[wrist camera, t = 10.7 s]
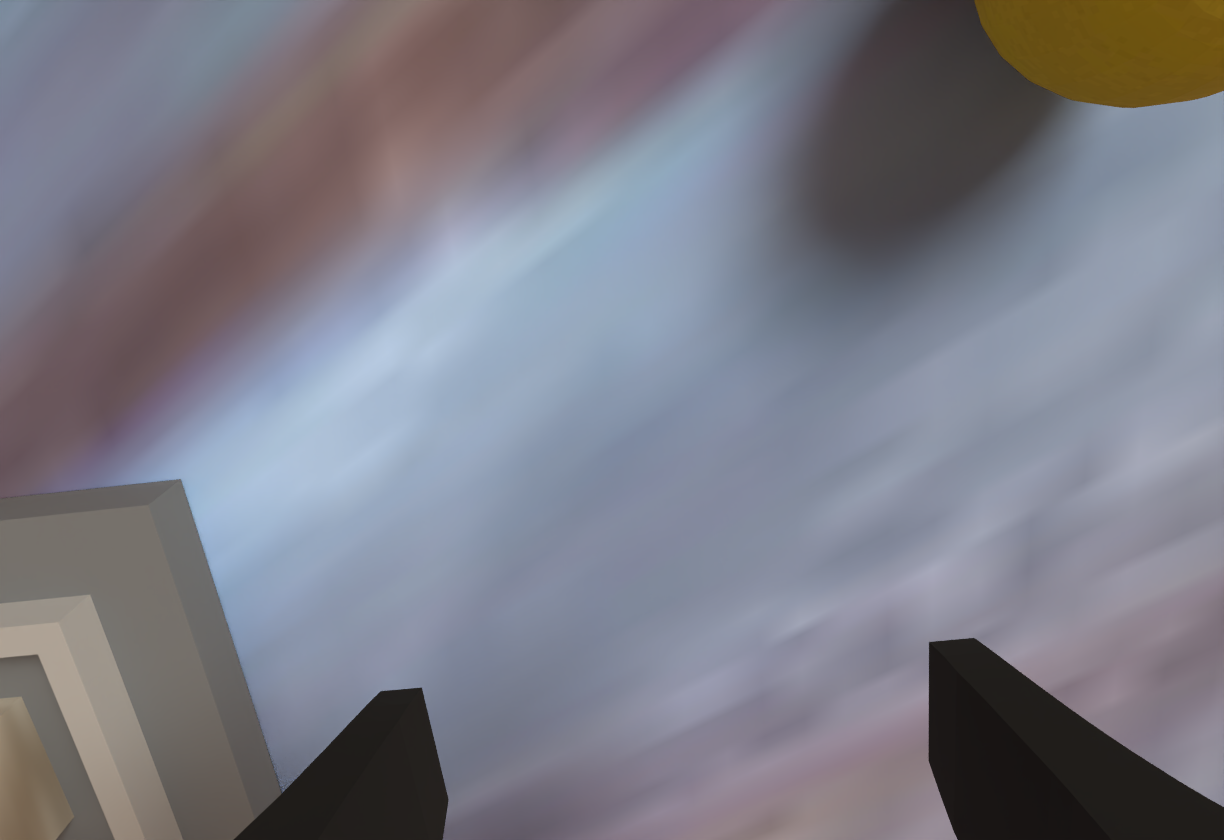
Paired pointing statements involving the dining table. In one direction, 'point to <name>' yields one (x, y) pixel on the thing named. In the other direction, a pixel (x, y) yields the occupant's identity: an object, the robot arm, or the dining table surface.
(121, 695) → the base
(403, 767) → the robot arm
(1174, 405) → the dining table surface
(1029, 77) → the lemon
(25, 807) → the block
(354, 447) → the dining table surface
